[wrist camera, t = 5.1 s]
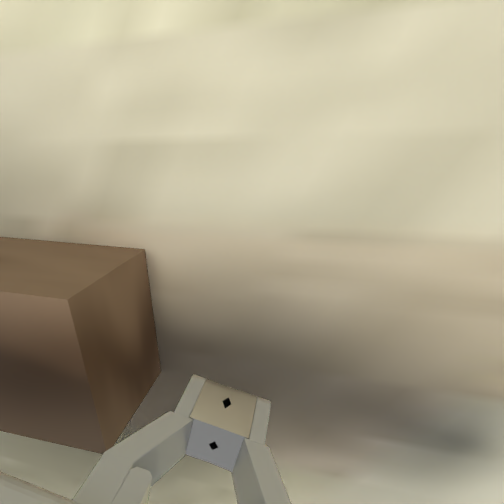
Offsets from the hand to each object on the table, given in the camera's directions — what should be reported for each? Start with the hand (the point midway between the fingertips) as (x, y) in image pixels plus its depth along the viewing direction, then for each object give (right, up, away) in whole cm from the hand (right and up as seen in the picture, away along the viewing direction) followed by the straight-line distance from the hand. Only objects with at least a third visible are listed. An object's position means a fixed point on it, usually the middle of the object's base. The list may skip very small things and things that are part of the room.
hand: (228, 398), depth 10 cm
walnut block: (-7, +3, +2) cm, 8 cm away
